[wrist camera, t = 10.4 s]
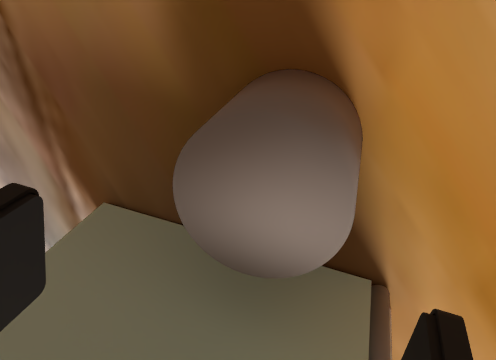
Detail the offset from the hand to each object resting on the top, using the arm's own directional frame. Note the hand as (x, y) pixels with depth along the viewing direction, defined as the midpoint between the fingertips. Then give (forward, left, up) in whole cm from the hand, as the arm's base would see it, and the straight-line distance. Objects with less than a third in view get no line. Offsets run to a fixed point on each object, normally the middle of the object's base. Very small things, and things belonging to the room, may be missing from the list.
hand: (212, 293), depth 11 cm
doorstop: (0, 0, -11) cm, 11 cm away
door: (-6, +3, -10) cm, 12 cm away
